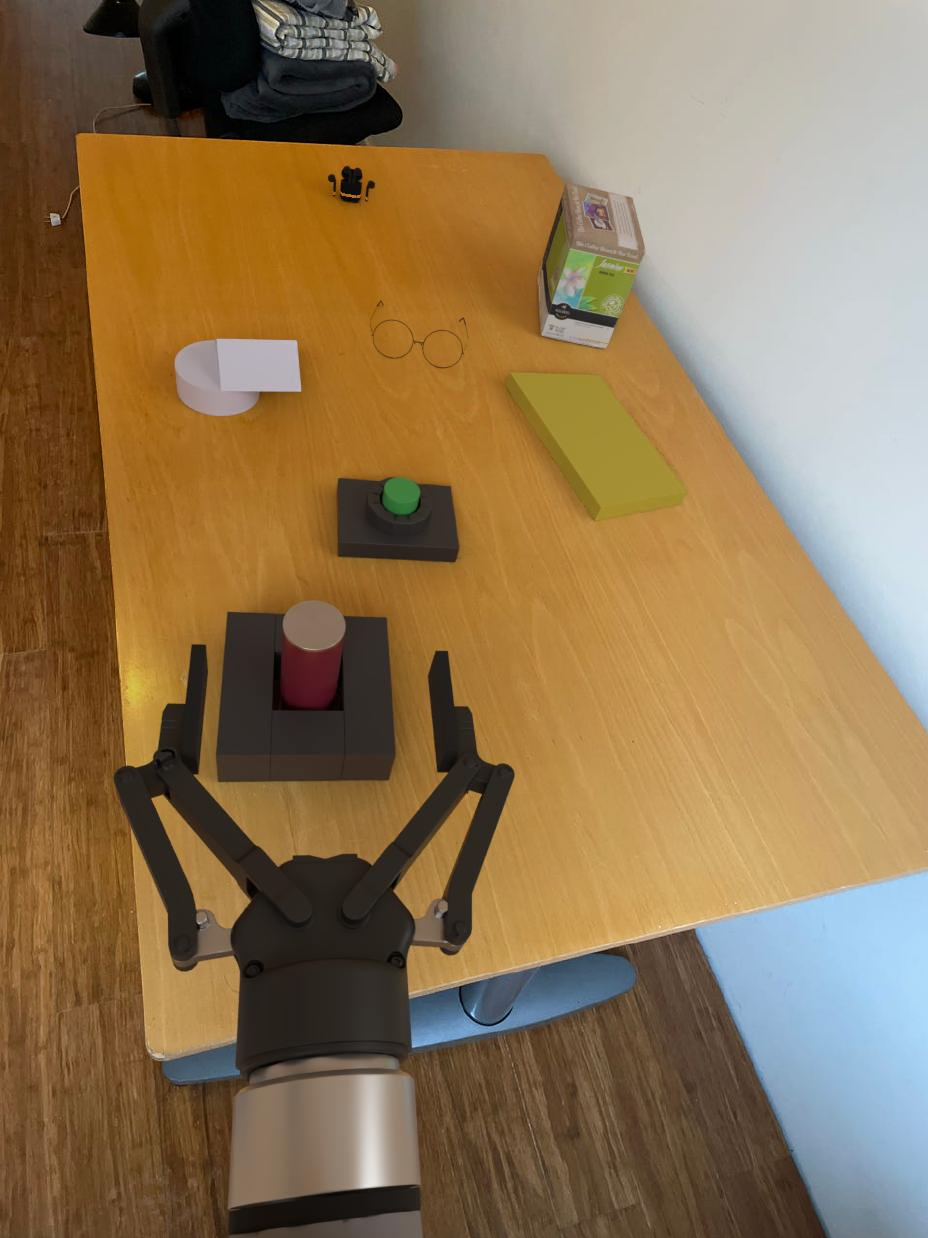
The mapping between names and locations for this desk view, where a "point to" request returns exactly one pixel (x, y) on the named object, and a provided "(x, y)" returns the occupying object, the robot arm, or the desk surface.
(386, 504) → the button
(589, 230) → the tea box
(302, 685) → the dark red cylinder
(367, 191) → the wireless earbuds
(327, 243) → the desk surface
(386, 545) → the panel
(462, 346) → the eyeglasses
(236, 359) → the wedge on round base
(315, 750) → the square peg hole block
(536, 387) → the flat olive board
